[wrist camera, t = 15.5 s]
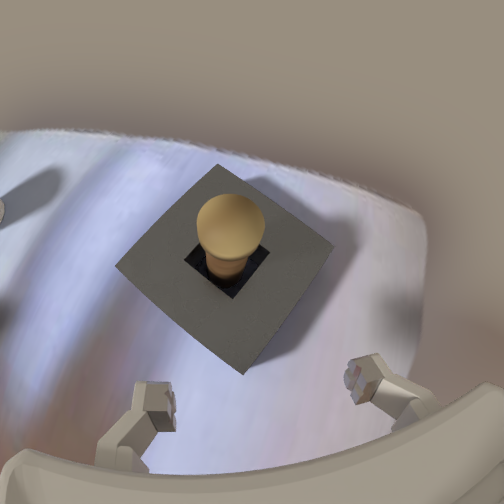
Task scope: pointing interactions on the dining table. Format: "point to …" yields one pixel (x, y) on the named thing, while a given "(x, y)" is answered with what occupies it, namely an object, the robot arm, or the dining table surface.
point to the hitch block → (211, 297)
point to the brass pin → (229, 236)
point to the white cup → (1, 210)
